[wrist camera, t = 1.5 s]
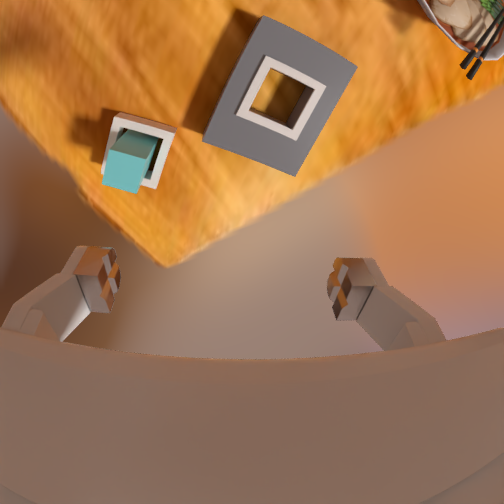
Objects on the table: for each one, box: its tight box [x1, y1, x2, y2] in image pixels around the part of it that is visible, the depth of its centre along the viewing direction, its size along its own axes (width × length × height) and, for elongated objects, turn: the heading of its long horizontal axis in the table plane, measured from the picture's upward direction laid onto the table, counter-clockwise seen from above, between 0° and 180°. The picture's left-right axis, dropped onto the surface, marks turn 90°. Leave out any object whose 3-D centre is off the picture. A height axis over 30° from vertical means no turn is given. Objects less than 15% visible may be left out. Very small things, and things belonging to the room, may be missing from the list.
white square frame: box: [101, 112, 177, 189], centre depth 31 cm, size 8×8×2 cm
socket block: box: [202, 15, 357, 177], centre depth 29 cm, size 12×16×3 cm
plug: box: [102, 129, 159, 194], centre depth 29 cm, size 4×4×8 cm
